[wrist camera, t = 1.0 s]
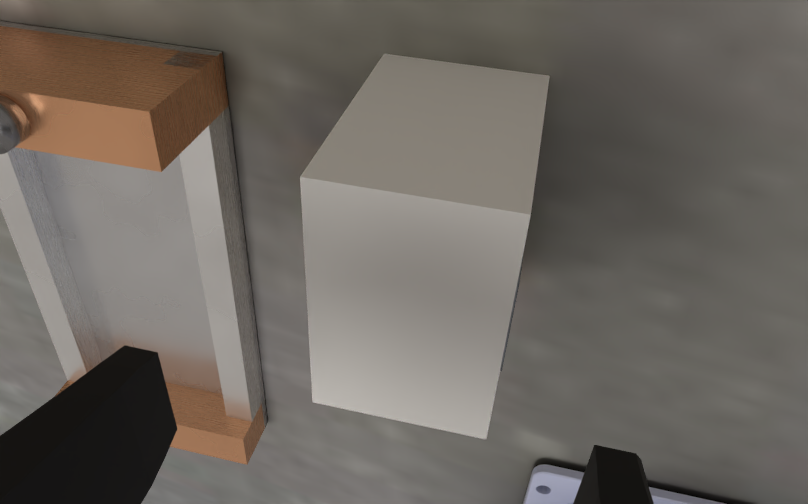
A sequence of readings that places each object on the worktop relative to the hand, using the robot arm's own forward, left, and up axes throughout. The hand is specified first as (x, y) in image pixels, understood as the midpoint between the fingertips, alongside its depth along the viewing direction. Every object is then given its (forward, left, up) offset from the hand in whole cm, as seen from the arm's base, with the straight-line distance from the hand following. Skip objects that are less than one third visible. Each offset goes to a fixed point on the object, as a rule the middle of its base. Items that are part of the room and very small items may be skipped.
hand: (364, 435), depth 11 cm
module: (0, 0, -9) cm, 9 cm away
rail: (-5, +10, -9) cm, 14 cm away
